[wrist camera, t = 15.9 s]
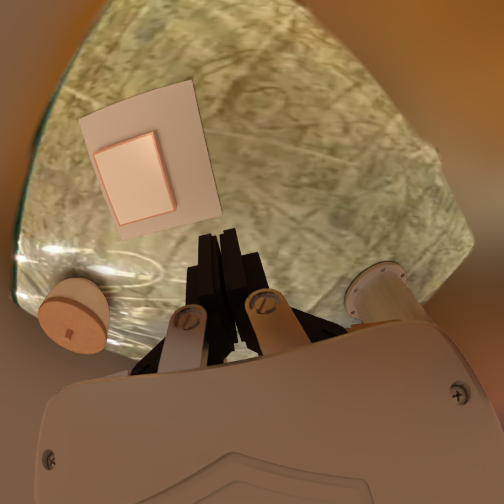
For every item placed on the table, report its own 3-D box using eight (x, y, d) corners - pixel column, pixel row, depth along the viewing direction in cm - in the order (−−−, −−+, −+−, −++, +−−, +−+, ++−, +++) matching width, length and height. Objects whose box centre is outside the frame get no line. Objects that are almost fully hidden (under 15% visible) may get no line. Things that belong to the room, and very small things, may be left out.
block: (175, 211, 28) (119, 226, 28) (177, 204, 30) (123, 219, 30) (152, 132, 23) (92, 153, 23) (156, 129, 25) (98, 149, 25)
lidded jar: (64, 251, 31) (37, 297, 23) (127, 287, 36) (114, 338, 28) (50, 297, 35) (31, 340, 27) (104, 325, 40) (93, 371, 32)
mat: (222, 213, 32) (222, 215, 32) (123, 238, 32) (122, 240, 31) (191, 79, 23) (191, 79, 23) (80, 118, 23) (78, 119, 22)
